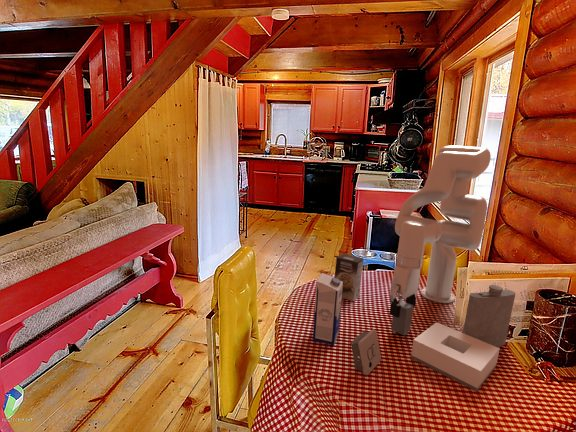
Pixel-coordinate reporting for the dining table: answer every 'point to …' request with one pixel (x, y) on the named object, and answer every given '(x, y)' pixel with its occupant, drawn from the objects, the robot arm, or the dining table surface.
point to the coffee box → (349, 275)
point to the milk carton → (327, 309)
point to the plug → (403, 319)
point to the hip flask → (489, 315)
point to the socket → (455, 355)
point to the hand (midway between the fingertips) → (402, 311)
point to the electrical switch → (366, 351)
